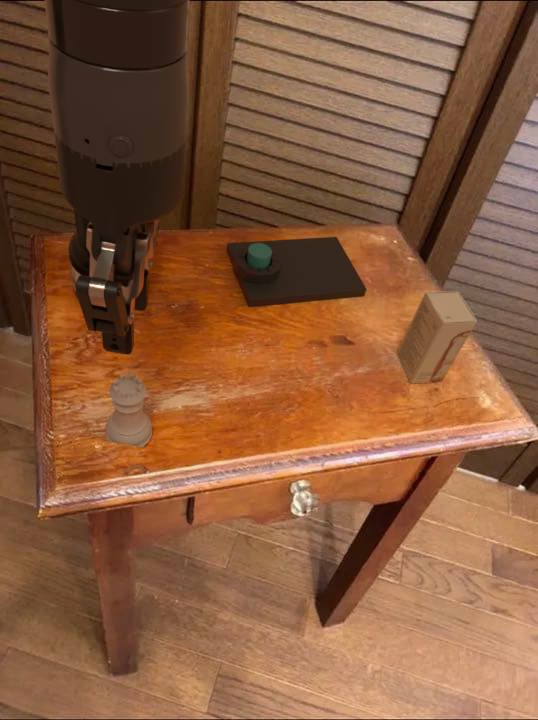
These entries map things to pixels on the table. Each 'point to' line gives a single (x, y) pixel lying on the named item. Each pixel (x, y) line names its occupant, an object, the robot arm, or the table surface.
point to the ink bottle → (80, 250)
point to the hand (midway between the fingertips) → (126, 326)
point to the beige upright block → (435, 336)
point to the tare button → (259, 255)
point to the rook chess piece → (128, 413)
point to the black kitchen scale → (296, 272)
